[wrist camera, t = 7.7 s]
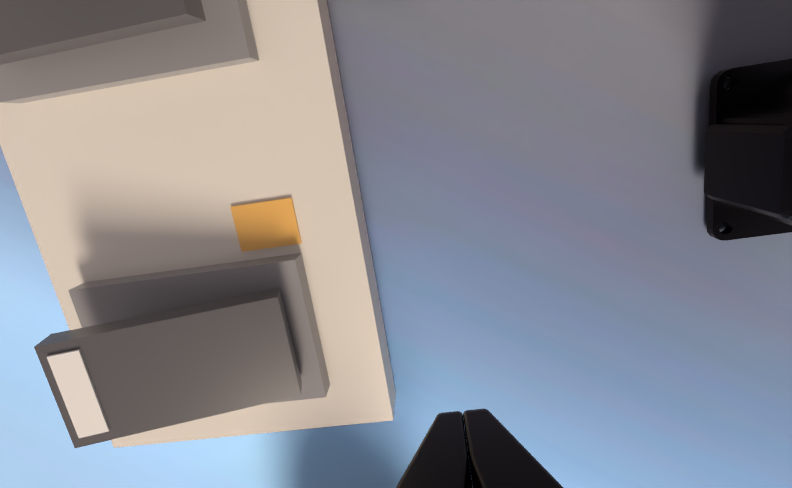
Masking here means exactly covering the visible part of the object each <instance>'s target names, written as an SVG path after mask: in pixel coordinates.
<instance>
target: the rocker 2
mask: <svg viewBox="0 0 792 488" xmlns="http://www.w3.org/2000/svg"><path fill="white" fill-rule="evenodd" d="M34 348H35V350H36V353H37V355H38V358H39V360H40V363H41V365H42V367H43V370H44V372H45V375H46V377H47V380H48V382H49V385H50V387H51V390H52V392H53V395H54V397H55V400H56V402H57V405H58V407H59V410H60V412H61V415H62V417H63V420H64V422H65V425H66V427H67V430H68V432H69V435H70V437H71V440H72V442H73V445H74V447H75V448H78V447H82V446H86V445H91V444H95V443H99V442H103V441H108V440H112V439H116V438H120V437H125V436H129V435H133V434H138V433H142V432H146V431H150V430H155V429H159V428H163V427H167V426H172V425H176V424H180V423H184V422H189V421H193V420H197V419H202V418H206V417H210V416H214V415H219V414H223V413H227V412H231V411H236V410H240V409H244V408H248V407H253V406H257V405H261V404H266V403H270V402H274V401H278V400H283V399H287V398H291V397H295V396H300V395H301V388H302V380H301V375H300V371H299V367H298V363H297V359H296V354H295V350H294V346H293V342H292V337H291V333H290V329H289V325H288V320H287V316H286V312H285V308H284V304H283V299H282V295H281V291H280V288H277V289H272V290H267V291H262V292H257V293H252V294H247V295H242V296H237V297H232V298H227V299H222V300H217V301H213V302H208V303H203V304H198V305H193V306H188V307H183V308H178V309H173V310H168V311H163V312H158V313H153V314H148V315H143V316H138V317H133V318H129V319H124V320H119V321H114V322H109V323H104V324H99V325H94V326H89V327H84V328H79V329H74V330H69V331H64V332H59V333H54V334H51V335H49V336H48V337H47V338H45V339H44V340H43V341H41V342H40V343H39V344H37V345H36V346H35V347H34Z"/></svg>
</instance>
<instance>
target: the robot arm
mask: <svg viewBox="0 0 792 488" xmlns="http://www.w3.org/2000/svg"><path fill="white" fill-rule="evenodd" d="M727 77H729V78H730V79H731V82H732V83H731V86H730V87H729V89H728V90H727V89H726V88H725V87H724V82H725V80H726V78H727ZM704 193H705V195H707V232H708V233H709V235H710V236H712V237H714V238H717V239H719V240H732V239H740V238H748V237H756V236H764V235H772V234H780V233H788V232H792V59H788V60H782V61H776V62H769V63H763V64H757V65H751V66H745V67H738V68H732V69H726V70H722V71H720V72H718V73H717V74H716V75H714V77H713V79H712V80H711V84H710V110H709V128H708V130H707V131H706V133H705V177H704ZM725 222H726V228H725V229H724V230H723V231H721V232H720V231H719V228H720V225H721V224H722V223H725ZM463 419H464V420H463ZM464 426H465V428H464ZM465 434H466V435H465ZM466 441H467V442H466ZM468 456H469V457H468ZM469 463H470V464H469ZM470 471H471V472H470ZM471 478H472V479H471ZM472 485H473V486H472ZM396 488H563V487H562V486H561V485H560V484H559V483H558V482H557V481H556V480H555V479H554V478H553V477H552V475H551V474H550V473H549V472H548V471H547V470H546V469H545V468H544V467H543V466H542V465H541V464H540V463H539V462H538V461H537V460H536V459H535V458H534V457H533V456H532V455H531V454H530V453H529V452H528V451H527V450H526V449H525V448H524V447H523V446H522V445H521V444H520V443H519V442H518V440H517V439H516V438H515V437H514V436H513V435H512V434H511V433H510V432H509V431H508V430H507V429H506V428H505V427H504V426H503V425H502V424H501V423H500V422H499V421H498V420H497V419H496V418H495V417H494V416H493V415H492V414H491V413H490V412H489V411H488V410H487V409H476V410H467V411H465V412H464V413H463V415H462V413H461V412H459V411H456V412H446V413H439V414H438V415H437V417H436V418H435V420H434V422H433V424H432V425H431V427H430V429H429V431H428V433H427V434H426V436H425V438H424V440H423V441H422V443H421V445H420V447H419V448H418V450H417V452H416V454H415V455H414V457H413V459H412V461H411V462H410V464H409V466H408V468H407V469H406V471H405V473H404V475H403V476H402V478H401V480H400V482H399V483H398V485H397V487H396Z"/></svg>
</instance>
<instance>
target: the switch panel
mask: <svg viewBox="0 0 792 488" xmlns="http://www.w3.org/2000/svg"><path fill="white" fill-rule="evenodd" d="M201 2H202V6H203V10H204V14H205V18H206V21H204V22H199V23H194V24H189V25H185V26H180V27H175V28H171V29H166V30H161V31H157V32H152V33H147V34H143V35H138V36H133V37H129V38H124V39H119V40H114V41H110V42H105V43H100V44H96V45H91V46H86V47H82V48H77V49H72V50H68V51H63V52H58V53H54V54H49V55H44V56H39V57H35V58H30V59H25V60H21V61H16V62H11V63H7V64H2V65H0V145H1V148H2V151H3V153H4V156H5V159H6V161H7V164H8V167H9V169H10V172H11V175H12V177H13V180H14V183H15V185H16V188H17V191H18V193H19V196H20V199H21V201H22V204H23V207H24V209H25V212H26V215H27V217H28V220H29V223H30V225H31V228H32V230H33V233H34V236H35V238H36V241H37V244H38V246H39V249H40V252H41V254H42V257H43V260H44V262H45V265H46V268H47V270H48V273H49V276H50V278H51V281H52V284H53V286H54V289H55V292H56V294H57V297H58V300H59V302H60V305H61V308H62V310H63V313H64V316H65V318H66V321H67V324H68V326H69V329H70V330H74V329H79V328H84V327H89V326H94V325H99V324H104V323H109V322H114V321H119V320H124V319H129V318H133V317H138V316H143V315H148V314H153V313H158V312H163V311H168V310H173V309H178V308H183V307H188V306H193V305H198V304H203V303H208V302H213V301H217V300H222V299H227V298H232V297H237V296H242V295H247V294H252V293H257V292H262V291H267V290H272V289H277V288H280V291H281V295H282V299H283V304H284V308H285V312H286V316H287V320H288V325H289V329H290V333H291V337H292V342H293V346H294V350H295V354H296V359H297V363H298V367H299V371H300V375H301V380H302V388H301V395H300V396H295V397H291V398H287V399H283V400H278V401H274V402H270V403H266V404H261V405H257V406H253V407H248V408H244V409H240V410H236V411H231V412H227V413H223V414H219V415H214V416H210V417H206V418H202V419H197V420H193V421H189V422H184V423H180V424H176V425H172V426H167V427H163V428H159V429H155V430H150V431H146V432H142V433H138V434H133V435H129V436H125V437H120V438H116V439H112V440H111V441H112V444H113V446H114V448H116V447H126V446H136V445H146V444H157V443H167V442H177V441H187V440H198V439H208V438H218V437H228V436H239V435H249V434H259V433H269V432H280V431H290V430H300V429H310V428H321V427H331V426H341V425H351V424H362V423H372V422H382V421H392V420H393V419H394V408H395V398H396V391H395V385H394V379H393V374H392V368H391V362H390V357H389V351H388V345H387V340H386V334H385V328H384V323H383V317H382V311H381V306H380V300H379V294H378V289H377V283H376V277H375V272H374V266H373V260H372V255H371V249H370V243H369V238H368V232H367V226H366V221H365V215H364V209H363V204H362V198H361V192H360V187H359V181H358V175H357V170H356V164H355V158H354V153H353V147H352V141H351V136H350V130H349V124H348V119H347V113H346V107H345V102H344V96H343V90H342V85H341V79H340V73H339V68H338V62H337V56H336V51H335V45H334V39H333V34H332V28H331V22H330V17H329V11H328V5H327V0H201Z"/></svg>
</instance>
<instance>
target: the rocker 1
mask: <svg viewBox="0 0 792 488" xmlns="http://www.w3.org/2000/svg"><path fill="white" fill-rule="evenodd" d="M204 21H206V18H205V14H204V10H203V6H202V2H201V0H0V65H2V64H7V63H11V62H16V61H21V60H25V59H30V58H35V57H39V56H44V55H49V54H54V53H58V52H63V51H68V50H72V49H77V48H82V47H86V46H91V45H96V44H100V43H105V42H110V41H114V40H119V39H124V38H129V37H133V36H138V35H143V34H147V33H152V32H157V31H161V30H166V29H171V28H175V27H180V26H185V25H189V24H194V23H199V22H204Z"/></svg>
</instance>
